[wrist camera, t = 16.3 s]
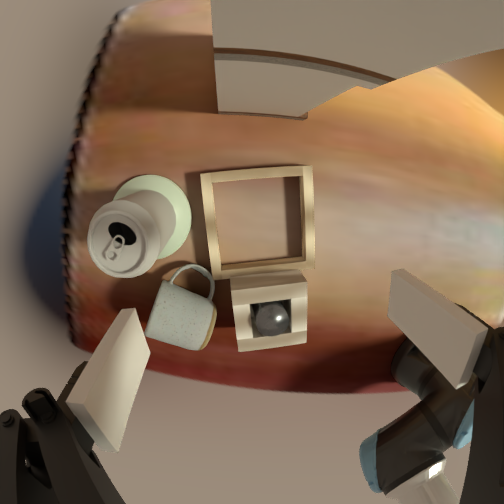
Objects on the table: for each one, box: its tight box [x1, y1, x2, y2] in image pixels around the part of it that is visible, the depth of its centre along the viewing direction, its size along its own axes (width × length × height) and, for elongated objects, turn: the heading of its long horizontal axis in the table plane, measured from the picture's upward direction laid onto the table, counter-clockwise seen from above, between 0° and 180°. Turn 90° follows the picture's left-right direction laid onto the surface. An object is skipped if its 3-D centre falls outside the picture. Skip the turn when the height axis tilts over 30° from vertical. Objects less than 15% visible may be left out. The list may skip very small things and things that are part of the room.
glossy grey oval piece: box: [252, 300, 289, 336], centre depth 35 cm, size 4×4×5 cm
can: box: [87, 190, 176, 278], centre depth 28 cm, size 8×8×12 cm
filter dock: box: [200, 165, 315, 352], centre depth 35 cm, size 22×13×6 cm, turn 5°
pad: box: [113, 175, 192, 259], centre depth 34 cm, size 11×11×1 cm
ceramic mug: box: [144, 264, 217, 350], centre depth 35 cm, size 11×8×8 cm
